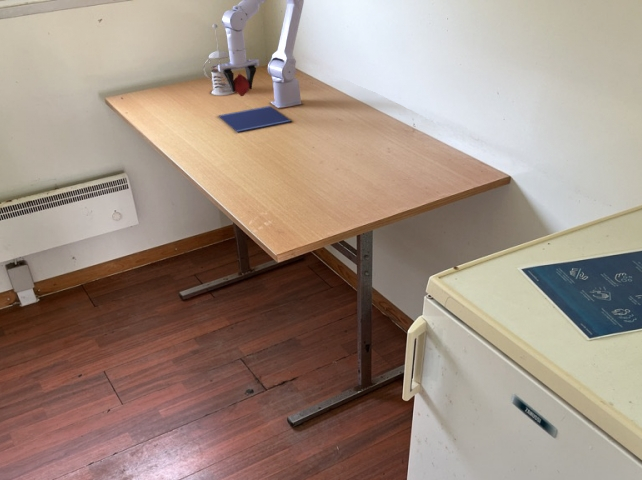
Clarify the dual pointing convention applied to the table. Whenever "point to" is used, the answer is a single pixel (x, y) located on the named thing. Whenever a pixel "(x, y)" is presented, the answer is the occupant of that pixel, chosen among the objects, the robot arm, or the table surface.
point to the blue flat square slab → (254, 119)
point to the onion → (241, 85)
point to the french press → (221, 86)
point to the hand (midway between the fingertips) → (241, 89)
